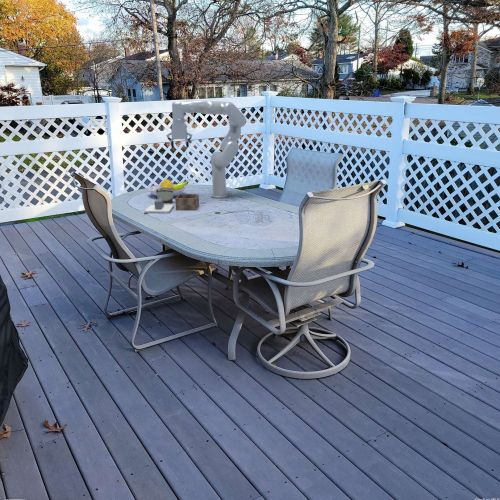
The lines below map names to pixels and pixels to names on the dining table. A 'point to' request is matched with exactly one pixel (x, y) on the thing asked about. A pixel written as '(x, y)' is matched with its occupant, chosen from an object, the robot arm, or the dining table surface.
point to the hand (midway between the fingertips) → (180, 147)
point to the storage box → (187, 201)
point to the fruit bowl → (168, 184)
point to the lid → (159, 207)
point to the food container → (165, 194)
